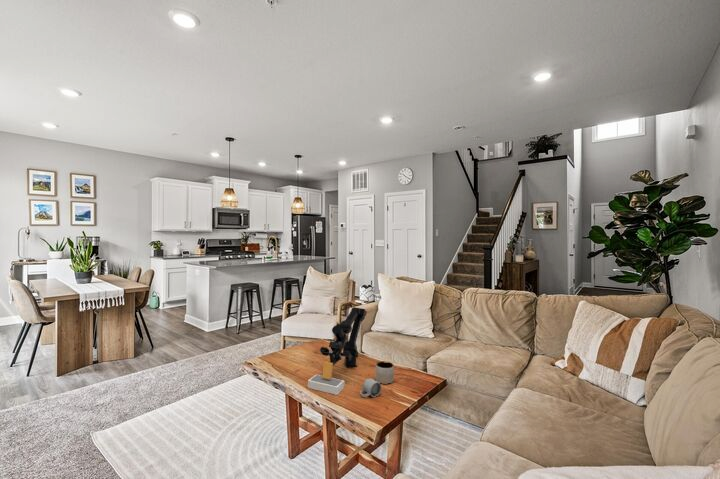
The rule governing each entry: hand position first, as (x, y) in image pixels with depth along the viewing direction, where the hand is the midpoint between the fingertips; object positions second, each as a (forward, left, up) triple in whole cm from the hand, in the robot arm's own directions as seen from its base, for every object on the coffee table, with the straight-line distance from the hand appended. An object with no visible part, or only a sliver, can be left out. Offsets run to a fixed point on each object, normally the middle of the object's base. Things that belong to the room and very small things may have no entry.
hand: (330, 367), depth 188 cm
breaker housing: (+3, +4, -10) cm, 11 cm away
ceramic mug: (-17, +18, -10) cm, 27 cm away
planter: (-32, +4, -10) cm, 34 cm away
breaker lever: (+3, +4, -5) cm, 7 cm away
